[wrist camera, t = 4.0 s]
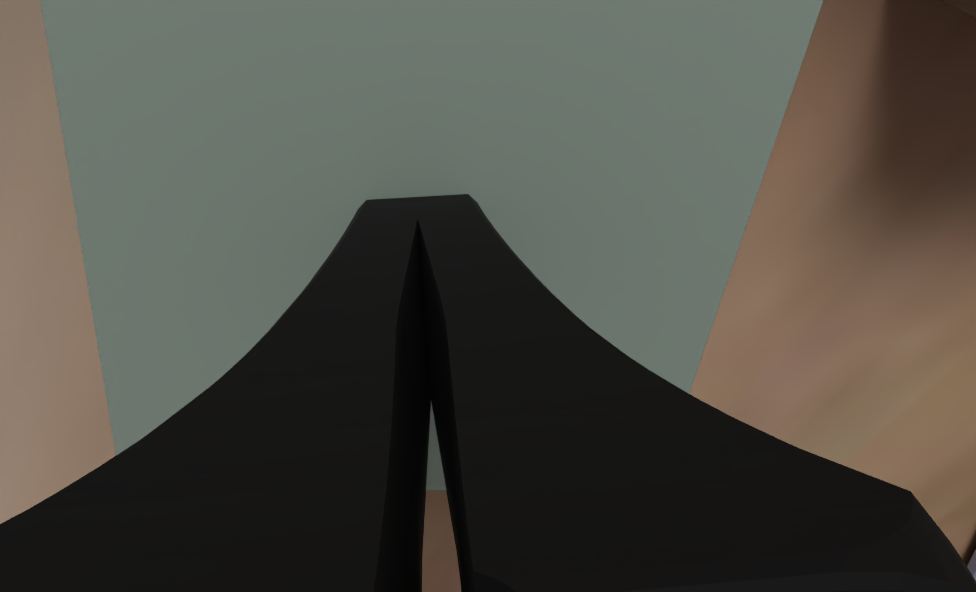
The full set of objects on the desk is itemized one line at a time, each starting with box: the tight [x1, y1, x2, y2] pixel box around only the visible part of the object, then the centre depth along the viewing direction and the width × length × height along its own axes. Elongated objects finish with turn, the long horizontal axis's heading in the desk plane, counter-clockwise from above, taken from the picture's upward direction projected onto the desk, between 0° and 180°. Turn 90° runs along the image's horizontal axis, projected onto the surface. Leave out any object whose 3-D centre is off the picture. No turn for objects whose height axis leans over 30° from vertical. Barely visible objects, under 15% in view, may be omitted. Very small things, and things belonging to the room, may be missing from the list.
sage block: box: [41, 0, 823, 491], centre depth 13 cm, size 8×8×5 cm
